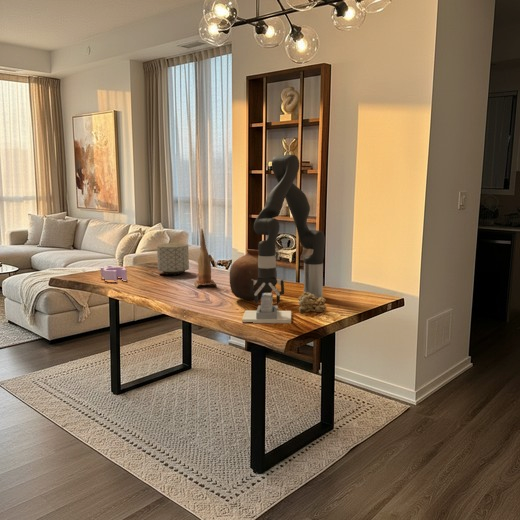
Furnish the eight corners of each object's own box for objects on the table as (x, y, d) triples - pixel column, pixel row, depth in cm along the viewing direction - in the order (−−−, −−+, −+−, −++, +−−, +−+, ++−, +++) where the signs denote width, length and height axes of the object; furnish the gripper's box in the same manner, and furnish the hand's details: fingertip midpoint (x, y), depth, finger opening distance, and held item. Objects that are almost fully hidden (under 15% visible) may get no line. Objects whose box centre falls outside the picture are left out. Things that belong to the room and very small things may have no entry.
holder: (245, 313, 223) (245, 304, 222) (291, 314, 221) (291, 305, 221) (242, 322, 209) (241, 313, 208) (290, 323, 208) (290, 313, 207)
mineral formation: (297, 314, 221) (293, 303, 235) (327, 318, 222) (321, 307, 236) (300, 297, 219) (296, 287, 233) (331, 301, 220) (324, 291, 235)
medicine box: (271, 317, 211) (271, 297, 210) (261, 317, 211) (260, 297, 210) (272, 312, 219) (272, 292, 217) (262, 312, 219) (262, 292, 218)
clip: (95, 278, 304) (95, 267, 303) (115, 276, 312) (114, 264, 311) (111, 283, 289) (110, 271, 288) (131, 280, 297) (130, 269, 296)
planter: (190, 270, 327) (189, 242, 324) (188, 276, 308) (187, 246, 305) (160, 271, 325) (159, 243, 322) (156, 277, 307) (154, 247, 304)
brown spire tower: (213, 283, 287) (211, 227, 283) (217, 287, 276) (215, 228, 272) (193, 285, 285) (191, 228, 280) (196, 289, 273) (194, 229, 269)
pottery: (225, 305, 238) (224, 252, 234) (234, 293, 261) (234, 245, 257) (274, 306, 235) (273, 252, 231) (279, 294, 258) (279, 245, 253)
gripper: (249, 267, 208) (249, 306, 211) (284, 267, 207) (284, 306, 210) (250, 264, 216) (251, 301, 218) (284, 264, 215) (284, 301, 217)
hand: (267, 303), depth 214 cm, fingers open, 8 cm apart
